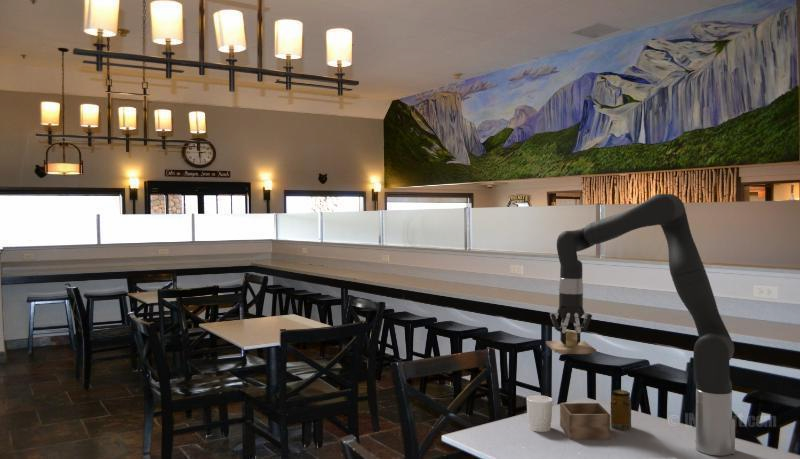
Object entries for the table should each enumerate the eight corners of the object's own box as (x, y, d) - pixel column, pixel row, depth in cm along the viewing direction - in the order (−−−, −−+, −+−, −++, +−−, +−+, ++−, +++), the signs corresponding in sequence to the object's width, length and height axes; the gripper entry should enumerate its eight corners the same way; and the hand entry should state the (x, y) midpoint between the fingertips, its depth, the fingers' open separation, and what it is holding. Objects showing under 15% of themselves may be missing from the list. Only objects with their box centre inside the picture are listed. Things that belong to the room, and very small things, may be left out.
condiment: (617, 425, 207) (617, 387, 207) (642, 431, 201) (642, 393, 201) (604, 429, 203) (604, 391, 203) (629, 436, 196) (629, 397, 196)
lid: (584, 346, 220) (584, 328, 219) (595, 355, 207) (596, 335, 206) (545, 346, 220) (546, 327, 219) (555, 355, 207) (555, 335, 206)
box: (598, 428, 204) (598, 403, 204) (610, 441, 192) (610, 414, 192) (560, 428, 204) (560, 403, 204) (569, 441, 192) (569, 414, 192)
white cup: (557, 432, 200) (557, 400, 200) (535, 436, 197) (535, 403, 197) (542, 425, 207) (542, 394, 207) (521, 428, 205) (521, 396, 204)
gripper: (552, 293, 209) (551, 346, 209) (596, 293, 209) (595, 346, 209) (546, 290, 216) (546, 341, 217) (589, 290, 216) (588, 341, 217)
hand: (570, 343), depth 213 cm, fingers closed on lid, 3 cm apart
